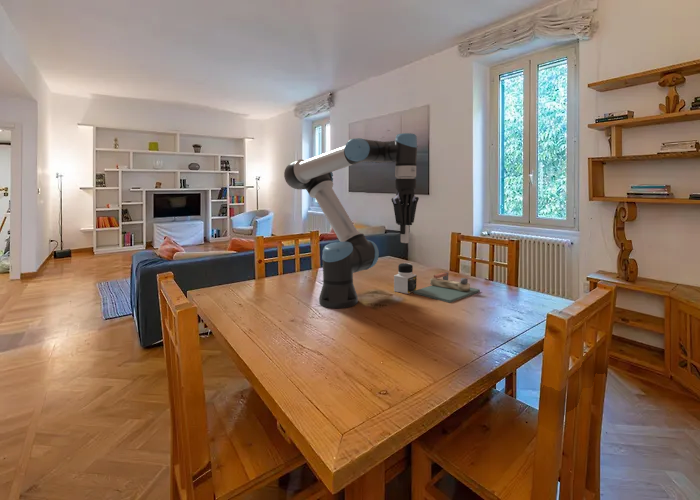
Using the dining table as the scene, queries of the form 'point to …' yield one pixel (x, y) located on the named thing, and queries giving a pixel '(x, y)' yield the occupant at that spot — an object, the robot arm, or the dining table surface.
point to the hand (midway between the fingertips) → (404, 242)
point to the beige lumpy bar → (450, 284)
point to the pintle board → (445, 290)
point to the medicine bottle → (405, 279)
